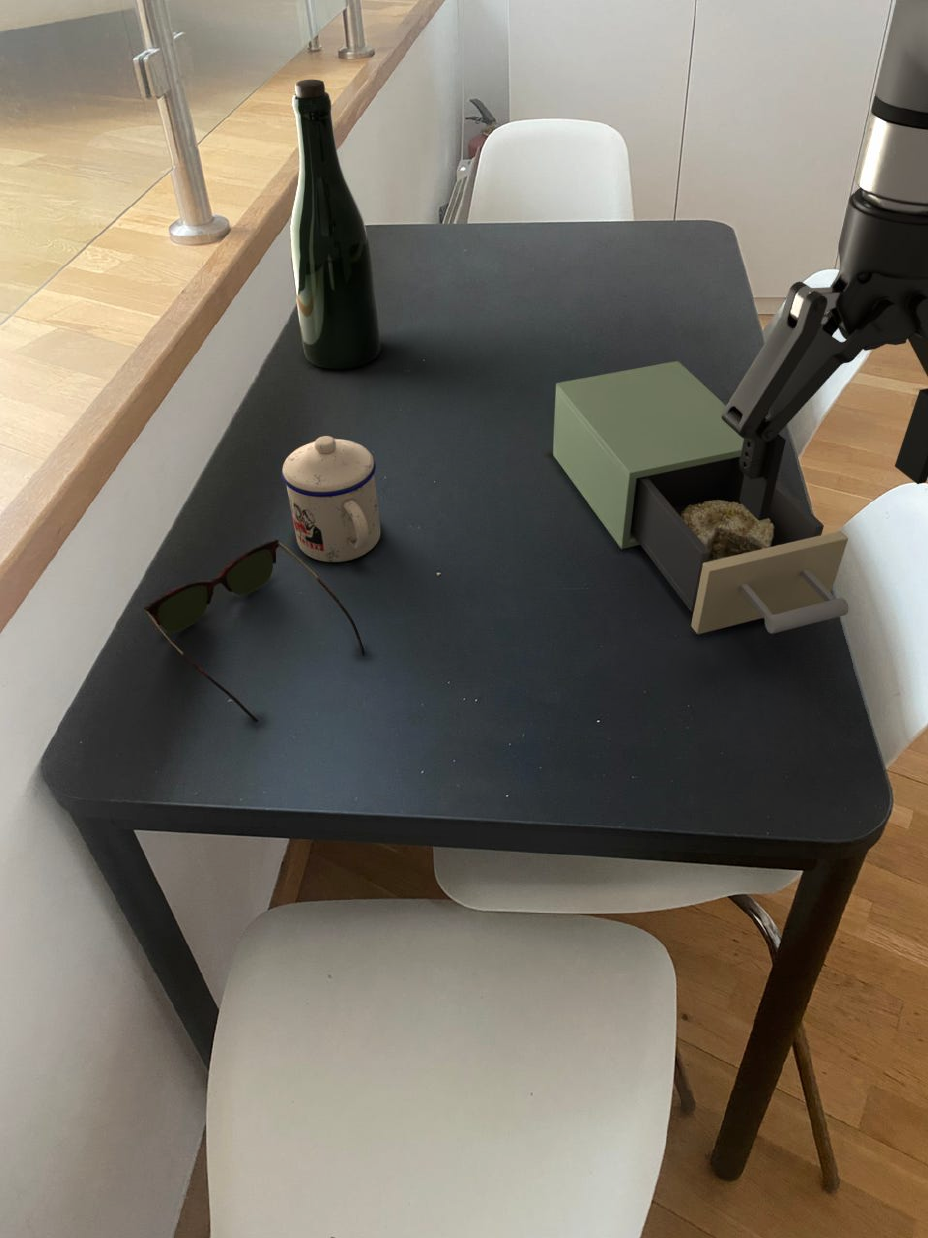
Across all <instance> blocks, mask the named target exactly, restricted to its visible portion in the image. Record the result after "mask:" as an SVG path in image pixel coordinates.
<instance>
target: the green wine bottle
mask: <svg viewBox="0 0 928 1238" xmlns="http://www.w3.org/2000/svg"><path fill="white" fill-rule="evenodd" d="M325 86H326V85H325V83H324V81H323V80H320V79H303V80H299V81H296V82H295V83H294V91H295V94H293V96H292V110H293V113H294V118H295V119H294V120H295V127H296V135H297V147H298V165H299V166H298V177H297V185H296V189H295V190H296V191H295V196H294V201H293V205H292V209H291V216H290V220H289V238H288V239H289V249H290V260H291V271H292V277H293V285H294V292H295V293H294V294H295V301H296V307H297V315H298V322H299V330H300V335H301V342H302V348H303V349H302V350H303V353H304V356H305V358H306V359H307V360H308V362H310V363H311V364H313V365H315V366H317V367H320V368H323V369H329V370H347V369H353V368H358V367H361V366H363V365H366V364H368V363H369V362H371V361H373V360H374V359H375V358H376V357H377V356H378V355H379V352H380V350H381V334H380V324H379V316H378V315H379V314H378V307H377V298H376V290H375V281H374V280H375V279H374V272H373V262H372V257H371V256H372V255H371V249H370V243H369V235H368V231H367V228H366V224H365V220H364V217H363V215H362V213H361V210H360V208H359V206H358V203H357V202H356V199H355V198H354V197H355V196H354V195H353V193H352V191H351V189H350V186H349V184H348V182H347V180H346V178H345V177H346V176H345V175H344V172H343V169H342V166H341V161H340V157H339V153H338V149H337V143H336V138H335V132H334V125H333V124H334V123H333V115H332V114H333V113H332V110H333V109H332V108H333V107H332V100H331V97H330V93H328V92H326V87H325Z"/></svg>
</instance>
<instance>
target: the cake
mask: <svg viewBox="0 0 928 1238" xmlns="http://www.w3.org/2000/svg"><path fill="white" fill-rule="evenodd" d="M680 516H681V518H682V519H683V520H684V521H685V522H686V524H687V525H688V526H689V527H690V528H691V530H692V531H693V532H694V533H695V534H696V535H697V537H698V538H699V539H700V540H701V541H702V543H703V544H704V545H705V546H706V547H707V549H708V550H709V551H710V557H709V562H710V561H714V560H718V559H723V558H727V557H731V556H735V555H740V554H744V553H748V552H752V551H757V550H761V549H765V548H769V547H771V543H772V538H774V536H773V533H774V532H773V531H774V530H775V529H774V526H773V523H770V522H771V520H770V519H769V518H768V519H765V520H760V521H758V520H757V519H756V518H755V517H754V516H753V515H752V514H751V513H750V512H749V511H748V509H747V508H746V507H745V506H744V505H743V504H738V503H735V502H727V501H726V502H725V501H720V500H716V501H715V500H712V501H707V502H706V501H705V502H703V503H702V504H695V505H689V506H687V508H685V510H684V511H682V512H681V515H680Z"/></svg>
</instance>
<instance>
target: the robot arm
mask: <svg viewBox="0 0 928 1238" xmlns="http://www.w3.org/2000/svg"><path fill="white" fill-rule="evenodd" d="M889 25H890V26H889V29H888V35H887V39H886V42H885V46H884V47H885V48H884V52H883V56H882V61H881V66H880V70H879V72H878V73H879V74H878V77H877V78H878V79H877V83H876V86H875V91H874V97H873V100H872V104H871V109H870V111H869V115H868V119H867V124H866V127H865V132H864V137H863V141H862V145H861V149H860V152H859V153H860V154H859V157H858V162H857V166H856V170H855V175H854V181H855V184H856V185H857V186H858V187H859V188H857V189H856V190H855V191H854V192H853V193H852V194H851V195H850V196H849V198H848V201H847V202H848V203H847V207H846V211H845V215H844V219H843V223H842V228H841V231H840V236H839V240H838V245H837V248H838V249H837V250H838V255H839V256H838V257H839V270H838V272H837V274H836V277H835V279H834V280H833V281H832V283H831V284H830V286H827V287H810V286H809V284H807V283H804V282H803V281H796V282H795V283H793V284H792V285H791V286H790V288H789V290H788V292H787V295H786V298H785V301H784V305H783V308H782V311H781V314H780V318H779V319H778V321H777V322H776V324H775V326H774V327H773V328H772V330H771V332H770V334H769V336H768V337H767V339H766V340H765V342H764V344H763V345H762V347H761V348H760V351H759V352H758V353H757V355H756V357H755V358H754V360H753V362H752V363H751V365H750V367H749V368H748V370H747V372H746V373H745V375H744V377H742V379H741V381H740V383H739V385H738V386H737V387H736V389H735V391H734V393H733V394H732V396H731V397H730V399H729V401H728V402H727V404H726V407H725V409H724V411H723V413H722V420H723V421H724V422H725V423H726V424H728V425H729V426H730V427H731V428H732V429H733V430H734V431H735V432H736V433H737V434H738V435H739V436H741V437H742V438H744V441H743V446H742V452H741V457H740V461H739V466H740V470H741V471H742V472H744V473H745V475H744V480H743V485H742V490H741V494H740V499H739V501H740V502H741V503H742V504H743V505H744V506H745V507H746V508H747V509H748V511H749V512H750V513H751V514H752V515H753V516H754V517H755V518H756V519H757V520H758V521H760V520H765V519H768V516H769V511H770V507H771V503H772V498H773V494H774V490H775V486H776V481H777V480H778V476H779V472H780V468H781V463H782V460H783V455H784V451H785V446H786V442H787V439H785V438H784V437H783V436H781V434H780V433H781V432H782V431H783V430H784V428H785V427H786V426H787V425H788V424H789V423H790V422H791V421H792V419H794V417H795V416H796V415H797V414H798V413H799V412H800V411H801V410H802V409H803V408H804V407H805V405H806V404H807V403H808V402H809V401H810V400H811V399H812V398H813V396H814V395H816V393H817V392H818V391H819V390H820V389H821V388H822V387H823V386H824V384H826V382H827V381H828V380H829V379H830V378H831V377H832V375H834V373H835V372H837V370H838V369H839V368H840V367H841V366H842V365H844V364H849V363H851V362H852V361H854V360H855V359H856V358H857V357H858V356H859V354H860V353H861V352H863V351H865V352H868V351H872V350H877V349H878V348H881V347H884V346H886V345H891V346H898V345H899V346H900V345H904V344H906V343H907V340H908V342H909V344H910V346H911V348H912V350H913V352H914V354H915V355H916V357H917V360H918V361H919V364H920V365H921V367H922V369H923V371H924V373H925V374H926V376H927V378H928V0H895V3H894V9H893V12H892V16H891V21H890V24H889ZM838 330H839V332H840V335H841V336H842V338H843V339H844V341H840V340H838V339H837V338H836V337H834V334H835V333H836V332H837V331H838ZM767 416H768V419H767V418H766V417H767ZM894 467H895V468H896V469H897V470H898V471H900V472H901V473H902V474H903V475H905V476H906V477H907V478H909V479H910V480H911V481H913V483H915V484H916V485H921V484H925V483H927V481H928V387H927V388H921V389H919V391H918V394H917V397H916V400H915V403H914V406H913V409H912V412H911V415H910V418H909V421H908V424H907V427H906V430H905V434H904V436H903V439H902V442H901V446H900V449H899V452H898V454H897V458H896V461H895V463H894Z"/></svg>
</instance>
